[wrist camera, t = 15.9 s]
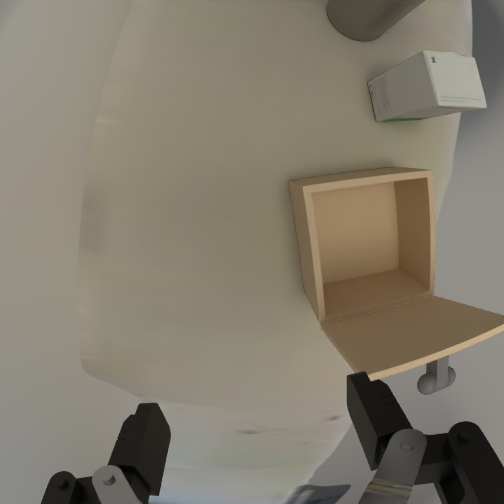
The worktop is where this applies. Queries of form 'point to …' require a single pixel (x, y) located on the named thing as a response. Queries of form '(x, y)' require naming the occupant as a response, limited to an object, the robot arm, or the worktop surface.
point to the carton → (365, 239)
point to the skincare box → (427, 87)
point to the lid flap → (412, 338)
